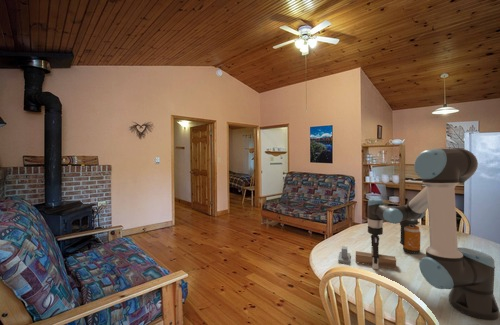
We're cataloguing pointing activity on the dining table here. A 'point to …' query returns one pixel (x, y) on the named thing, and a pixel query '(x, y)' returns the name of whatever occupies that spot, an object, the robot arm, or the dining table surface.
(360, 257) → the walnut bar
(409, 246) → the canister
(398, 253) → the dining table surface
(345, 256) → the fulcrum
